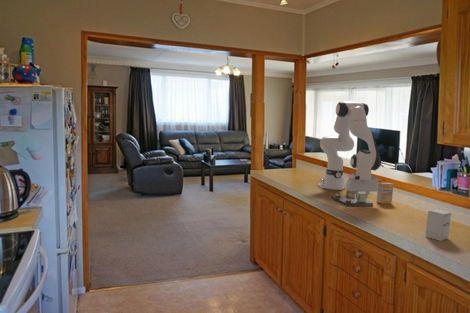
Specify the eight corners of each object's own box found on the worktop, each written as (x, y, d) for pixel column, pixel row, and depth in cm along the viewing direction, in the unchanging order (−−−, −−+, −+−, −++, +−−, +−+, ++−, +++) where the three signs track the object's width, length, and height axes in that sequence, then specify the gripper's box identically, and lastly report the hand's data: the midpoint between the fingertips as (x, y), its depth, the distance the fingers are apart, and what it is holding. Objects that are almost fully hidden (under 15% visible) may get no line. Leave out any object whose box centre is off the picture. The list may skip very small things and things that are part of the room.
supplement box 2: (440, 241, 175) (443, 214, 174) (424, 236, 181) (427, 210, 180) (448, 239, 179) (451, 212, 178) (432, 234, 185) (435, 208, 184)
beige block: (346, 196, 256) (346, 188, 255) (351, 196, 257) (352, 188, 256) (349, 197, 252) (349, 189, 251) (354, 197, 253) (355, 189, 252)
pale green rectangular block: (356, 200, 243) (357, 192, 242) (362, 200, 244) (363, 192, 243) (359, 202, 239) (360, 194, 238) (365, 202, 240) (366, 194, 239)
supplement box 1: (380, 204, 246) (382, 183, 245) (376, 202, 251) (378, 182, 250) (392, 203, 249) (394, 183, 247) (387, 202, 253) (389, 182, 252)
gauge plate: (331, 198, 255) (331, 192, 254) (356, 198, 259) (356, 192, 258) (345, 206, 235) (346, 199, 235) (372, 206, 239) (373, 199, 239)
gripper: (375, 175, 245) (373, 197, 246) (345, 175, 240) (344, 197, 242) (381, 177, 239) (379, 199, 240) (350, 177, 234) (349, 199, 236)
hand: (361, 198), depth 241 cm, fingers closed on pale green rectangular block, 4 cm apart
